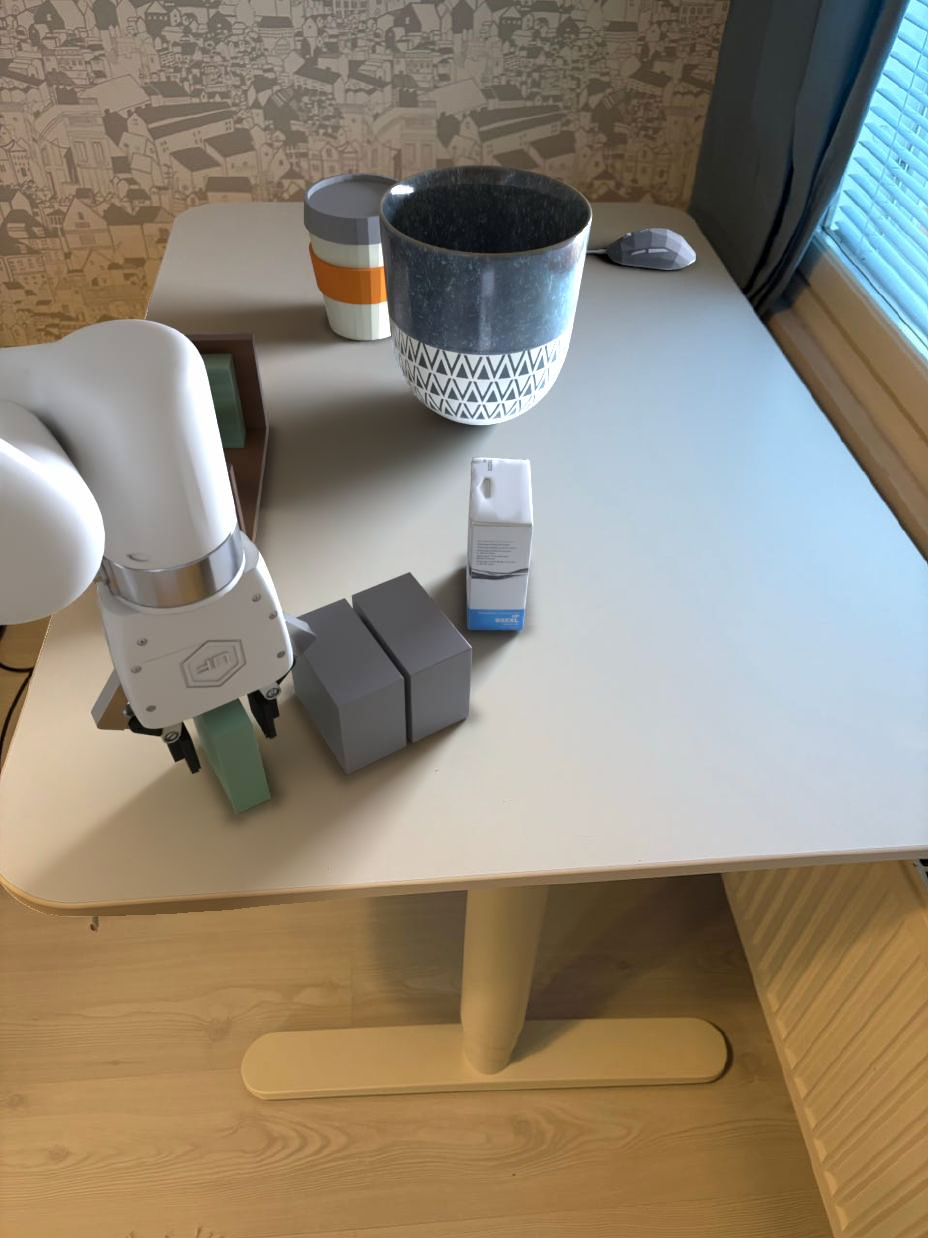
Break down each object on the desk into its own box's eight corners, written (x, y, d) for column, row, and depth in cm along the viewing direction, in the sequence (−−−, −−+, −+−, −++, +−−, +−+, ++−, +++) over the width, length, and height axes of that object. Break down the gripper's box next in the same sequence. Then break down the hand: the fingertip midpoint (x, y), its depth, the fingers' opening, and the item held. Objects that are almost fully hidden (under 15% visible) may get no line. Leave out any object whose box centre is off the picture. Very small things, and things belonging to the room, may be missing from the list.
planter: (602, 429, 96) (635, 227, 81) (440, 482, 89) (441, 273, 74) (507, 343, 108) (520, 151, 92) (357, 384, 101) (343, 185, 85)
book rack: (251, 574, 80) (230, 472, 72) (123, 578, 79) (87, 476, 71) (269, 431, 95) (253, 332, 86) (161, 433, 94) (135, 334, 86)
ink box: (524, 632, 76) (535, 525, 68) (465, 631, 76) (469, 524, 68) (520, 562, 82) (531, 456, 73) (466, 560, 82) (470, 454, 73)
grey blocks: (346, 775, 66) (338, 708, 60) (294, 691, 71) (282, 622, 65) (469, 716, 70) (472, 647, 64) (411, 641, 75) (409, 571, 69)
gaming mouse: (585, 242, 126) (589, 213, 123) (693, 252, 125) (699, 223, 122) (583, 263, 122) (586, 234, 119) (694, 273, 121) (701, 244, 118)
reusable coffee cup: (333, 357, 105) (322, 226, 94) (300, 306, 112) (286, 181, 101) (434, 336, 108) (434, 208, 97) (395, 288, 116) (391, 165, 105)
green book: (236, 815, 64) (214, 739, 57) (200, 744, 68) (175, 666, 61) (271, 798, 65) (252, 722, 58) (233, 729, 69) (212, 651, 62)
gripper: (31, 651, 45) (123, 838, 58) (341, 535, 51) (361, 728, 65) (-5, 561, 49) (89, 754, 63) (286, 464, 56) (315, 658, 69)
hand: (227, 739), depth 63 cm, fingers open, 4 cm apart
